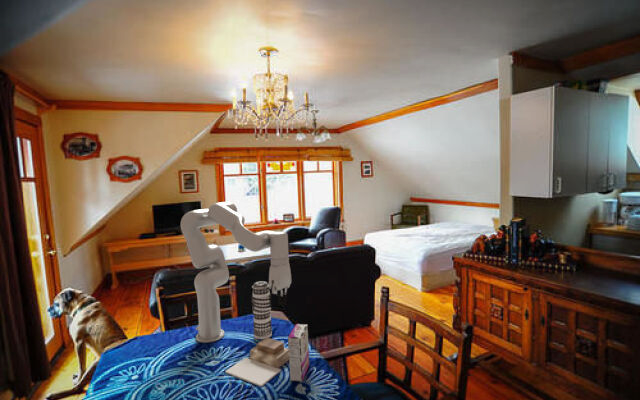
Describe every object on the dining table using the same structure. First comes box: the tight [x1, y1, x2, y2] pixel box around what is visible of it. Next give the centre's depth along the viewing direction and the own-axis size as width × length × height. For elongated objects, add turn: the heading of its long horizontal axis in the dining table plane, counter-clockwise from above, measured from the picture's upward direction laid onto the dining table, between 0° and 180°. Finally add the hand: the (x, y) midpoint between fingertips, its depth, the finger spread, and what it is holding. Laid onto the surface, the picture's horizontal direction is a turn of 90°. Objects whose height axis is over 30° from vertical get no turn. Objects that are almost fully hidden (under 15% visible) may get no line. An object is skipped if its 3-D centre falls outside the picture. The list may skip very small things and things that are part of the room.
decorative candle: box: [250, 280, 273, 340], centre depth 155 cm, size 9×9×25 cm
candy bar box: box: [287, 323, 310, 383], centre depth 124 cm, size 11×5×16 cm, turn 168°
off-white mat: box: [225, 357, 282, 388], centre depth 126 cm, size 18×11×1 cm, turn 59°
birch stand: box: [249, 345, 289, 369], centre depth 134 cm, size 14×8×4 cm, turn 59°
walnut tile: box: [256, 337, 285, 355], centre depth 134 cm, size 9×6×2 cm, turn 59°
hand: (281, 304), depth 140 cm, fingers closed
